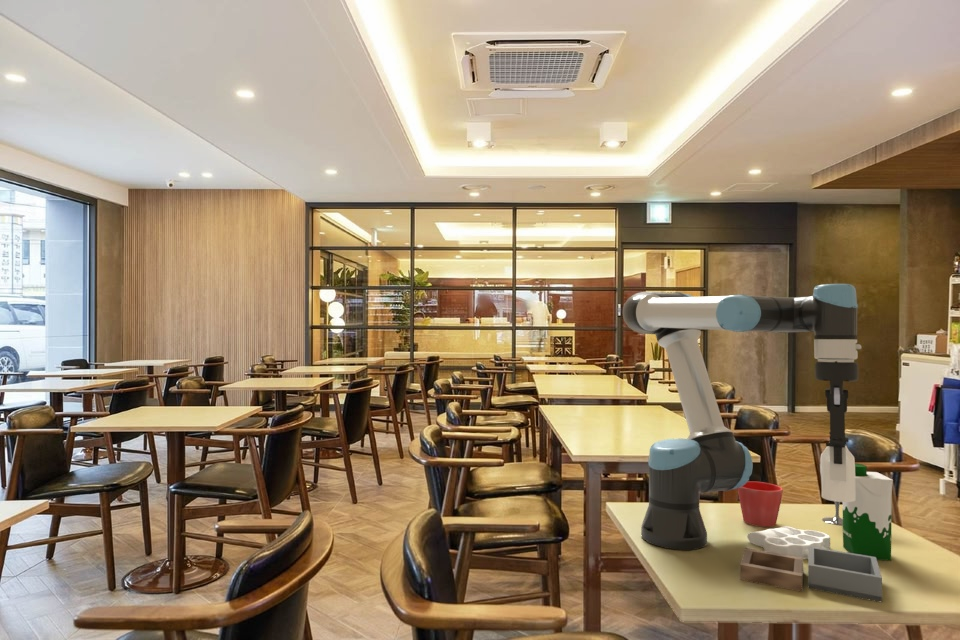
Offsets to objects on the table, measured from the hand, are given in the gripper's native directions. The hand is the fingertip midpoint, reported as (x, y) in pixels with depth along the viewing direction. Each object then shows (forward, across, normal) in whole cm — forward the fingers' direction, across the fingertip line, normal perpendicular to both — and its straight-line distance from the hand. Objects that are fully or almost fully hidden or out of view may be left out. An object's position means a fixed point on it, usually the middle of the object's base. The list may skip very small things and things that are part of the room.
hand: (837, 476), depth 118 cm
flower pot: (+21, +34, +18) cm, 44 cm away
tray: (+21, +1, 0) cm, 21 cm away
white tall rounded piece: (+5, 0, 0) cm, 5 cm away
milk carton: (+21, +23, -6) cm, 32 cm away
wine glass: (+21, +47, 0) cm, 51 cm away
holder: (+21, -2, +12) cm, 24 cm away
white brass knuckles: (+22, +18, +10) cm, 29 cm away
